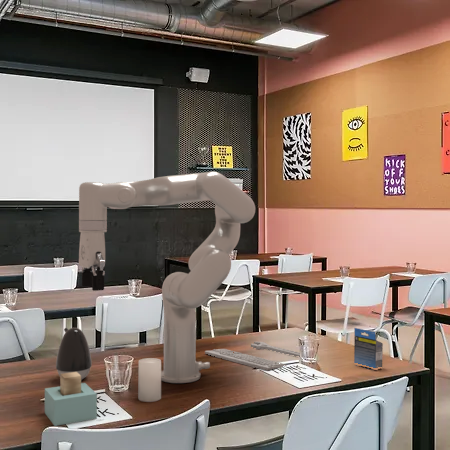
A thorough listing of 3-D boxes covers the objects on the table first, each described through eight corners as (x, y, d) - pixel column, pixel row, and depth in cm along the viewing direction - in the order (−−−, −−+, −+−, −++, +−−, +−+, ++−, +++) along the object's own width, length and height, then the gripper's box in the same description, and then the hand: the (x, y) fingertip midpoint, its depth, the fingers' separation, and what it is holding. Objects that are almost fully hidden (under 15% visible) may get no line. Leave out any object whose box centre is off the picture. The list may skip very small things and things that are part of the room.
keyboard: (288, 367, 187) (288, 361, 187) (267, 373, 180) (267, 367, 180) (225, 351, 208) (225, 345, 208) (204, 356, 200) (204, 350, 200)
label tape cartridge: (383, 369, 184) (383, 330, 183) (375, 371, 181) (375, 332, 181) (361, 363, 191) (361, 326, 190) (353, 364, 188) (353, 327, 188)
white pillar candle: (155, 393, 157) (155, 357, 157) (164, 399, 152) (164, 362, 152) (135, 396, 154) (135, 359, 154) (143, 403, 149) (143, 365, 149)
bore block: (84, 406, 146) (84, 382, 146) (96, 418, 138) (96, 393, 138) (44, 412, 141) (44, 388, 141) (54, 426, 133) (54, 400, 133)
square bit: (76, 411, 142) (76, 371, 142) (81, 416, 139) (81, 375, 139) (60, 414, 140) (60, 373, 140) (64, 419, 137) (64, 378, 137)
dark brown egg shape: (80, 371, 177) (80, 322, 177) (97, 379, 170) (98, 328, 169) (49, 378, 170) (49, 327, 170) (66, 386, 163) (66, 333, 162)
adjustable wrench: (309, 359, 197) (309, 354, 197) (296, 362, 193) (296, 357, 193) (259, 345, 216) (259, 340, 216) (246, 347, 212) (246, 342, 212)
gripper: (71, 226, 165) (71, 285, 165) (88, 227, 150) (88, 293, 151) (96, 225, 169) (96, 283, 169) (116, 227, 154) (116, 291, 154)
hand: (92, 288), depth 160 cm, fingers open, 9 cm apart
